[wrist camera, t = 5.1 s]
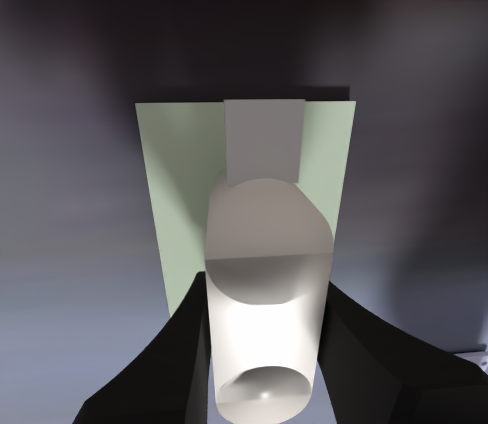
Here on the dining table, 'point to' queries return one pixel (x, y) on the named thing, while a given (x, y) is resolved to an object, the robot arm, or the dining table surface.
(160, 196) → the mat
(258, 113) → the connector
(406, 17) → the dining table surface
